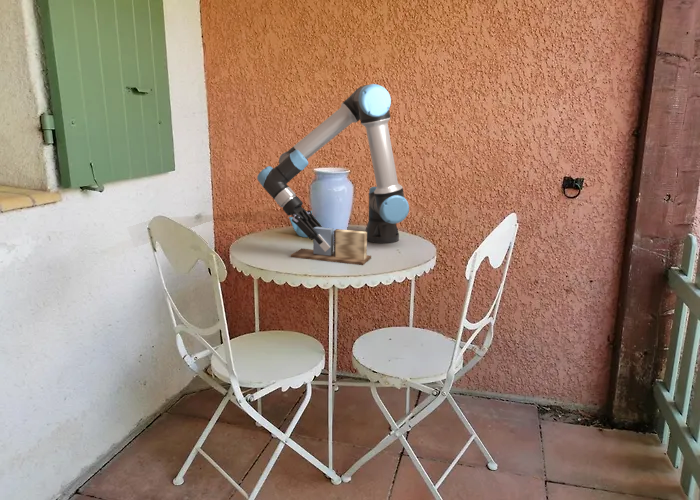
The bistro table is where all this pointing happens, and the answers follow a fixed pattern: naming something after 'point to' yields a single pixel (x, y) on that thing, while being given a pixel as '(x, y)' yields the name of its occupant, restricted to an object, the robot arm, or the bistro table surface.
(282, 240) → the bistro table surface
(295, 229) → the blue round finned body
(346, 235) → the l-shaped wooden stand
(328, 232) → the pale blue rectangular block
